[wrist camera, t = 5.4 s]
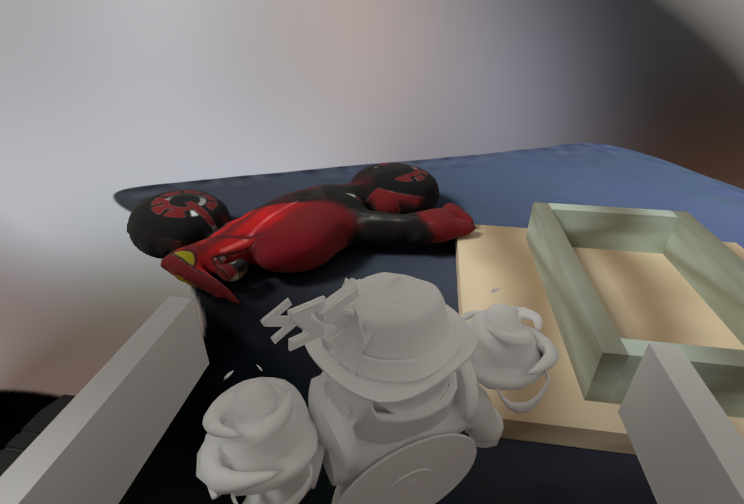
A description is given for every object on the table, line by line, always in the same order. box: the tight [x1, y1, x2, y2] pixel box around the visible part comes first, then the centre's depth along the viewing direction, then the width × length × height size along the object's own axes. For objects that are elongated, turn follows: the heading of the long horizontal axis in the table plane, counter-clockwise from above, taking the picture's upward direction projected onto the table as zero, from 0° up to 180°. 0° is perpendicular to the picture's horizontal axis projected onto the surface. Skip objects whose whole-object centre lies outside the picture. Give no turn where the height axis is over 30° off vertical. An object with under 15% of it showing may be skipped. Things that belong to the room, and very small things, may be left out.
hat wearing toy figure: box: [196, 272, 560, 504], centre depth 11 cm, size 9×4×12 cm, turn 114°
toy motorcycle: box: [127, 163, 476, 303], centre depth 32 cm, size 25×5×16 cm
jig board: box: [455, 202, 744, 455], centre depth 24 cm, size 20×18×4 cm
